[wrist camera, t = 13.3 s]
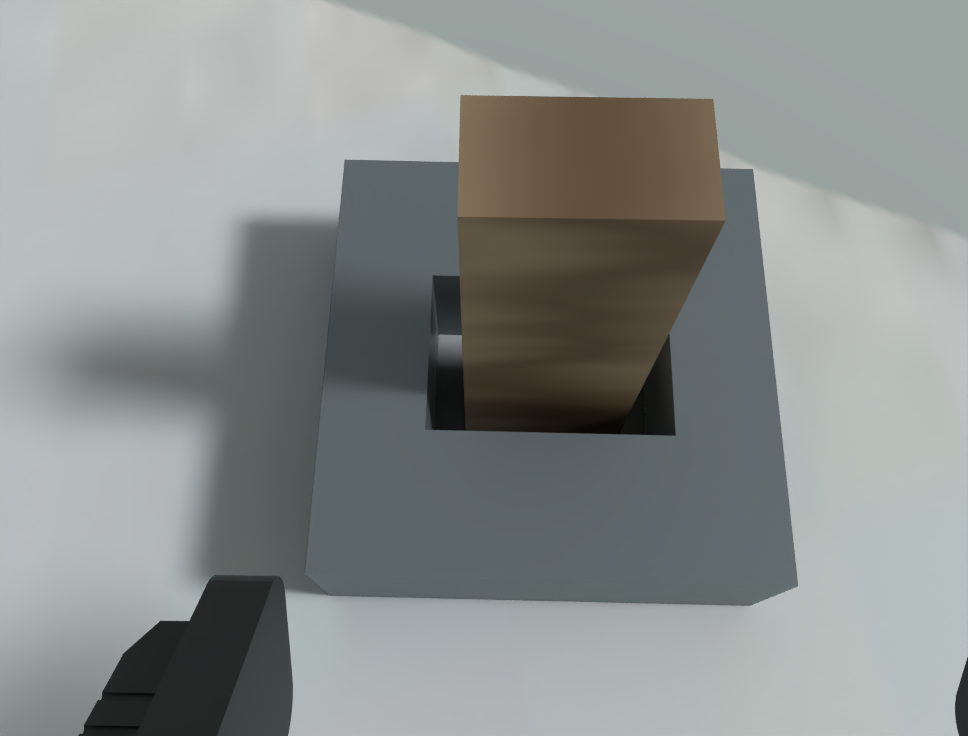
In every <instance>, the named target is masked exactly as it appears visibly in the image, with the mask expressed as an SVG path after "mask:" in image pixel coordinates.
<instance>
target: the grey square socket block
mask: <svg viewBox="0 0 968 736" xmlns="http://www.w3.org/2000/svg"><path fill="white" fill-rule="evenodd" d="M720 170H721V179H722V189H723V198H724V208H725V218H726V221H725V223H724V225H723V227H722V229H721V231H720V233H719V235H718V237H717V239H716V241H715V243H714V245H713V247H712V249H711V251H710V253H709V255H708V257H707V259H706V261H705V263H704V265H703V267H702V269H701V271H700V273H699V275H698V277H697V279H696V281H695V283H694V285H693V287H692V289H691V291H690V293H689V295H688V297H687V299H686V301H685V303H684V305H683V307H682V309H681V311H680V313H679V315H678V317H677V319H676V321H675V323H674V325H673V327H672V329H671V331H670V333H669V335H668V337H667V339H666V341H665V343H664V345H663V347H662V349H661V351H660V353H659V355H658V357H657V359H656V361H655V363H654V365H653V367H652V369H651V371H650V373H649V375H648V377H647V379H646V381H645V383H644V385H643V386H644V407H645V427H646V435H622V434H580V433H538V432H496V431H454V430H434V421H435V399H436V378H437V356H438V334H462V323H461V297H460V271H459V245H458V219H457V213H458V176H459V162H420V161H377V160H345V163H344V173H343V183H342V194H341V204H340V214H339V225H338V235H337V245H336V256H335V266H334V276H333V287H332V297H331V307H330V318H329V328H328V338H327V349H326V359H325V369H324V380H323V390H322V400H321V411H320V421H319V431H318V442H317V452H316V462H315V473H314V483H313V493H312V504H311V514H310V524H309V535H308V545H307V555H306V566H305V575H306V576H307V577H308V578H310V579H311V580H312V581H313V582H315V583H316V584H317V585H318V586H319V587H321V588H322V589H323V590H324V591H325V592H327V593H328V594H329V595H330V596H371V597H413V598H455V599H497V600H538V601H580V602H622V603H664V604H706V605H748V606H750V605H753V604H755V603H758V602H760V601H763V600H765V599H768V598H770V597H773V596H775V595H778V594H780V593H782V592H785V591H787V590H790V589H792V588H795V587H797V586H798V581H797V571H796V562H795V553H794V544H793V535H792V525H791V516H790V507H789V498H788V488H787V479H786V470H785V461H784V452H783V442H782V433H781V424H780V415H779V405H778V396H777V387H776V378H775V369H774V359H773V350H772V341H771V332H770V322H769V313H768V304H767V295H766V286H765V276H764V267H763V258H762V249H761V239H760V230H759V221H758V212H757V203H756V193H755V184H754V175H753V169H720Z"/></svg>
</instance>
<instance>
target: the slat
mask: <svg viewBox="0 0 968 736" xmlns="http://www.w3.org/2000/svg"><path fill="white" fill-rule="evenodd" d="M457 219H458V245H459V271H460V297H461V323H462V348H463V374H464V400H465V426H466V431H496V432H538V433H580V434H619V432H620V430H621V428H622V426H623V424H624V422H625V420H626V418H627V416H628V414H629V412H630V410H631V408H632V406H633V404H634V402H635V400H636V398H637V396H638V395H639V393H640V391H641V389H642V387H643V385H644V383H645V381H646V379H647V377H648V375H649V373H650V371H651V369H652V367H653V365H654V363H655V361H656V359H657V357H658V355H659V353H660V351H661V349H662V347H663V345H664V343H665V341H666V339H667V337H668V335H669V333H670V331H671V329H672V327H673V325H674V323H675V321H676V319H677V317H678V315H679V313H680V311H681V309H682V307H683V305H684V303H685V301H686V299H687V297H688V295H689V293H690V291H691V289H692V287H693V285H694V283H695V281H696V279H697V277H698V275H699V273H700V271H701V269H702V267H703V265H704V263H705V261H706V259H707V257H708V255H709V253H710V251H711V249H712V247H713V245H714V243H715V241H716V239H717V237H718V235H719V233H720V231H721V229H722V227H723V225H724V223H725V221H726V218H725V208H724V198H723V189H722V179H721V170H720V160H719V151H718V142H717V132H716V123H715V112H714V103H713V99H669V98H606V97H538V96H471V95H461V101H460V138H459V176H458V213H457Z"/></svg>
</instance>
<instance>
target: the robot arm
mask: <svg viewBox="0 0 968 736" xmlns="http://www.w3.org/2000/svg"><path fill="white" fill-rule="evenodd" d="M292 699H293V681H292V669H291V657H290V646H289V634H288V622H287V611H286V599H285V590H284V584H283V581H282V579H281V577H279V576H233V575H214V576H213V577H212V578H211V579H210V580H209V582H208V584H207V585H206V588H205V590H204V592H203V594H202V596H201V598H200V600H199V602H198V604H197V607H196V609H195V611H194V613H193V615H192V617H191V619H190V621H160V622H159V623H158V624H157V625H155V626H154V627H153V628H152V629H151V630H150V631H149V632H147V633H146V634H145V635H144V636H143V637H142V638H141V639H139V640H138V641H137V642H136V643H135V644H134V645H133V646H131V647H130V648H129V649H128V650H127V651H126V652H125V653H124V654H123V656H122V657H121V659H120V661H119V663H118V665H117V666H116V668H115V670H114V672H113V674H112V676H111V677H110V679H109V681H108V683H107V685H106V686H105V688H104V690H103V692H102V699H101V700H98V701H97V703H96V705H95V706H94V708H93V710H92V712H91V714H90V716H89V717H88V719H87V721H86V723H85V725H84V732H83V734H79V736H288V733H289V727H290V721H291V712H292ZM955 716H956V724H957V729H958V733H959V736H968V658H967V661H966V664H965V668H964V671H963V674H962V678H961V681H960V684H959V688H958V691H957V695H956V701H955Z"/></svg>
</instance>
